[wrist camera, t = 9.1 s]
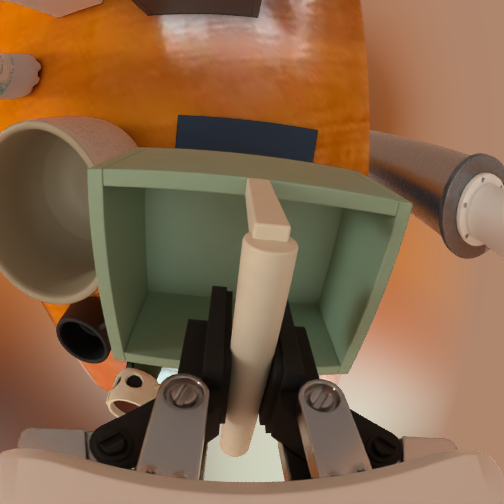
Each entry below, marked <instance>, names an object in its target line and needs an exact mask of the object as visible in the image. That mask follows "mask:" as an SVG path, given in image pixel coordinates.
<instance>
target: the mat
mask: <svg viewBox="0 0 504 504" xmlns="http://www.w3.org/2000/svg"><path fill="white" fill-rule="evenodd" d="M317 132H318V131H317V130H313V129H307V128H301V127H295V126H289V125H282V124H275V123H267V122H259V121H251V120H242V119H231V118H219V117H205V116H186V115H178V124H177V136H176V148H178V149H195V150H209V151H221V152H232V153H242V154H251V155H260V156H268V157H276V158H283V159H290V160H297V161H304V162H310V163H313V157H314V151H315V145H316V138H317Z"/></svg>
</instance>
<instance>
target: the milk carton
mask: <svg viewBox="0 0 504 504" xmlns="http://www.w3.org/2000/svg"><path fill="white" fill-rule="evenodd" d="M4 1H8V2H11V3H15V4H18V5H21V6H25V7H28V8H31V9H34V10H37V11H40V12H43V13H45V14H48V15H51V16H54V17H56V18H60V17H63V16H65V15H68V14H71V13H74V12H76V11H79V10H82V9H85V8H88V7H92V6H95V5H98V4H101V3H102V2H103V0H4Z"/></svg>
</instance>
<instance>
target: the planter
mask: <svg viewBox="0 0 504 504" xmlns="http://www.w3.org/2000/svg"><path fill="white" fill-rule="evenodd" d="M136 148H138V146H137V145H136V143H135V142H134V140H133V139H132V138H131V137H130V136H129V135H128V134H127V133H126V132H125V131H124V130H122V129H121V128H120V127H118V126H117V125H115V124H113V123H111V122H108V121H106V120H103V119H99V118H94V117H88V116H63V117H49V118H38V119H31V120H26V121H22V122H18V123H16V124H13V125H11V126H9V127H8V128H6V129H5V130H3V131H2V132H1V133H0V271H1V272H2V274H3V275H4V276H5V277H6V278H7V279H8V280H9V281H10V282H11V283H12V284H13V285H14V286H16V287H17V288H18V289H19V290H21V291H22V292H24V293H26V294H27V295H29V296H30V297H32V298H35V299H37V300H39V301H42V302H46V303H50V304H59V305H62V304H71V303H75V302H78V301H81V300H83V299H85V298H87V297H88V296H90V295H91V294H92V293H94V292H95V291H96V290H97V289H98V282H97V275H96V269H95V262H94V254H93V246H92V237H91V226H90V214H89V199H88V173H87V170H88V169H89V168H91V167H93V166H95V165H97V164H100V163H102V162H104V161H106V160H109V159H111V158H113V157H116V156H118V155H121V154H123V153H126V152H128V151H131V150H133V149H136Z"/></svg>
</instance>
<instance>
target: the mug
mask: <svg viewBox="0 0 504 504" xmlns="http://www.w3.org/2000/svg"><path fill="white" fill-rule="evenodd" d="M56 332H57V337H58V339H59V341H60V343H61V344H62V346H63V347H64V348H65V349H66V350H67V351H68V352H69V353H70V354H71V355H73V356H74V357H76V358H77V359H79V360H81V361H84V362H87V363H101V362H103V361H105V360H106V359H107V357H108V356H109V353H110V351H111V345H110V341H109V337H108V333H107V328H106V324H105V319H104V314H103V309H102V304H101V300H100V299H98V298H95V297H91V296H88V297H87V298H85V299H83V300H81V301H78V302H75V303H71V305H70V306H69V307H68V309H67V310H66V312H65V313H64V315H63V316H62V318H61V319H60V321H59V322H58V324H57V328H56Z"/></svg>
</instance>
